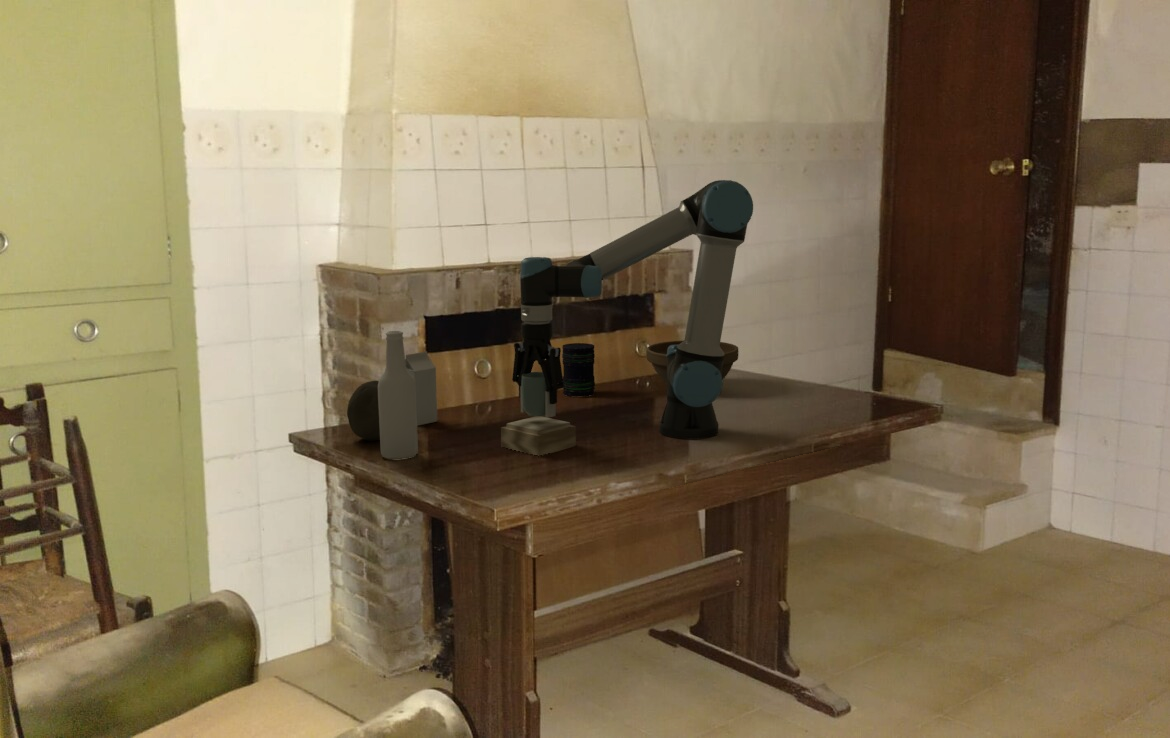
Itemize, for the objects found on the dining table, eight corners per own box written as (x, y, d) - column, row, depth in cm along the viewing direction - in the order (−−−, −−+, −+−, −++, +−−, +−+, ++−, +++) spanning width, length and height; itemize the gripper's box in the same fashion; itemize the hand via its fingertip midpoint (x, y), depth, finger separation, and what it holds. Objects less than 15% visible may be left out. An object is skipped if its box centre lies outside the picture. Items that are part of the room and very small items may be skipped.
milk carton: (437, 421, 286) (435, 352, 282) (416, 426, 281) (414, 356, 277) (421, 417, 291) (418, 350, 287) (400, 422, 286) (397, 353, 282)
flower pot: (670, 401, 309) (670, 357, 306) (631, 383, 335) (631, 343, 333) (755, 393, 319) (756, 350, 317) (710, 377, 345) (711, 337, 343)
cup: (549, 419, 253) (549, 378, 251) (518, 417, 255) (517, 377, 253) (557, 411, 261) (556, 372, 259) (526, 410, 262) (525, 371, 260)
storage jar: (594, 397, 315) (594, 348, 312) (562, 397, 315) (561, 348, 312) (595, 390, 325) (594, 342, 322) (563, 390, 325) (562, 343, 322)
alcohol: (411, 461, 247) (406, 335, 241) (375, 460, 248) (369, 334, 243) (422, 451, 255) (418, 329, 250) (388, 450, 257) (383, 328, 251)
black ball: (371, 449, 258) (368, 389, 255) (337, 440, 267) (334, 382, 264) (416, 438, 268) (414, 380, 265) (382, 430, 277) (379, 374, 274)
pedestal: (575, 446, 260) (575, 422, 258) (538, 456, 250) (538, 432, 249) (538, 437, 268) (538, 414, 267) (501, 447, 259) (500, 423, 258)
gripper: (496, 319, 258) (497, 410, 262) (556, 327, 244) (557, 423, 248) (518, 316, 263) (519, 405, 267) (578, 324, 249) (579, 417, 253)
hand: (537, 413), depth 258 cm, fingers closed on cup, 8 cm apart
